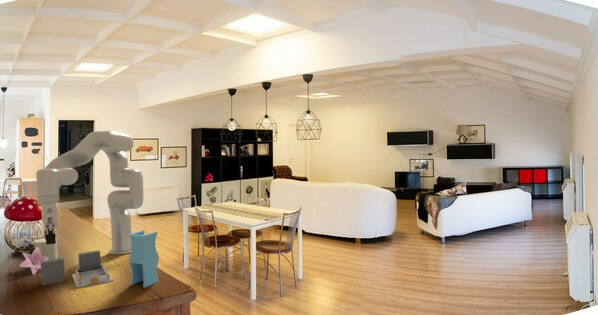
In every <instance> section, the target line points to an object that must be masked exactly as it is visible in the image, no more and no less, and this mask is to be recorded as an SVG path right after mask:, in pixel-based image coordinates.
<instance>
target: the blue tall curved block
mask: <svg viewBox="0 0 598 315" xmlns="http://www.w3.org/2000/svg"><path fill="white" fill-rule="evenodd" d="M157 236H158V231H154V232H151V233H148V234H145V230H139V231H136V232H133V233H132V234H130V238H131V243H132V251H131V253H130V256H129V259H128V264H129V268H130V272H131V279H130V284H129V285H130V286H133V285H135V284H138V283H140V282H143V284H142V285H143V286H142V287H143V288H145V289H146V288H147V287H151V286H152V285H155V284H156V283H158V282H159V278H158V277H159V276H158V265H159V261H160V256H159V254H158V251H157V248H156V240H157Z"/></svg>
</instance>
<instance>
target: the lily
mask: <svg viewBox="0 0 598 315" xmlns="http://www.w3.org/2000/svg"><path fill="white" fill-rule="evenodd" d="M22 255H23V256H24V258H25V260H24V261H22V262H21V263H20V264H19V267H22V268H29V270H28V271H29V272H30V271H31V273H32V275H33V276H34V275H36V273H37V272H38V271H39V269H40V270H41V262H40V261H46V260H48V259H49V257H46V256H41V251H40V249H39V247H37V248H36V249H35V248H34V250H33V252H32V253H27V252H22Z"/></svg>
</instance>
